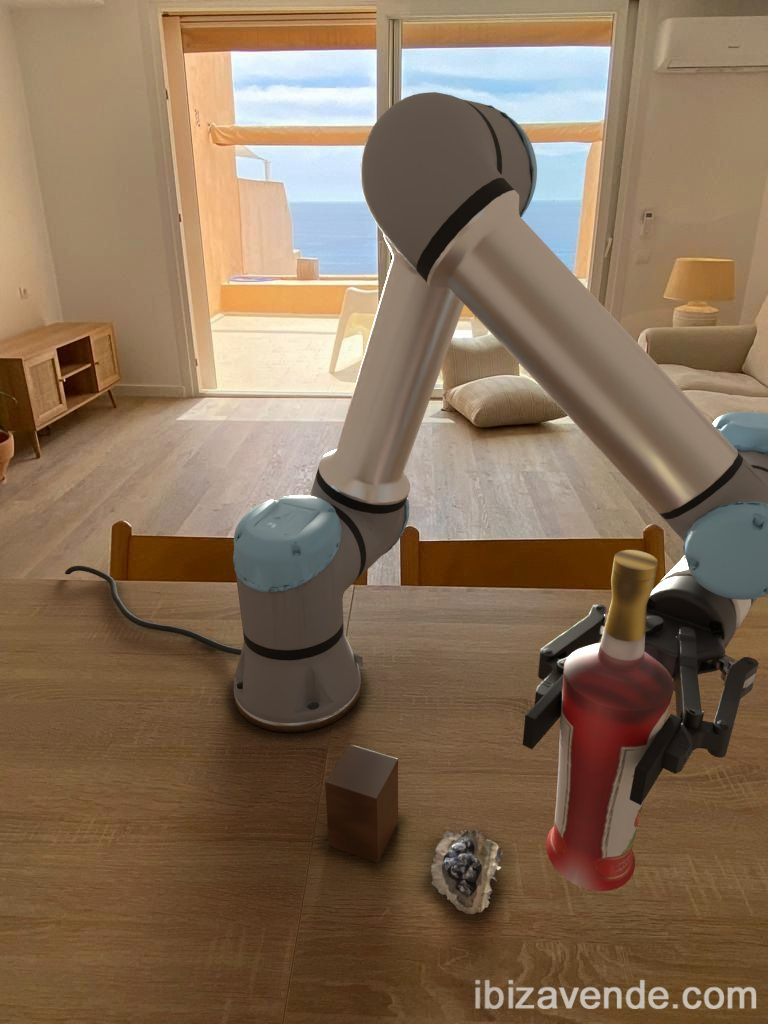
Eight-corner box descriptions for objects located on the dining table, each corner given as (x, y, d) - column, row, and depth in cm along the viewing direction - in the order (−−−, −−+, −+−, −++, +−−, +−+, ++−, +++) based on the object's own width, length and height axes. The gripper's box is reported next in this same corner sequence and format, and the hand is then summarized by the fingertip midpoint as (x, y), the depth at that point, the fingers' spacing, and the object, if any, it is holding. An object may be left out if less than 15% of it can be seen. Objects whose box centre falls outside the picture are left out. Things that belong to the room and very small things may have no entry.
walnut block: (328, 845, 64) (324, 781, 61) (351, 805, 69) (348, 743, 65) (378, 864, 63) (376, 798, 59) (398, 821, 67) (398, 758, 63)
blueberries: (498, 834, 65) (499, 819, 65) (515, 914, 58) (516, 898, 57) (427, 835, 65) (427, 821, 64) (434, 916, 58) (435, 901, 57)
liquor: (562, 812, 61) (599, 525, 49) (647, 853, 57) (709, 552, 45) (527, 873, 55) (559, 567, 44) (618, 923, 52) (680, 602, 40)
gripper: (808, 690, 58) (727, 881, 42) (584, 609, 70) (455, 735, 54) (831, 614, 55) (753, 790, 39) (592, 543, 67) (458, 655, 51)
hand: (580, 758), depth 47 cm, fingers closed on liquor, 7 cm apart
